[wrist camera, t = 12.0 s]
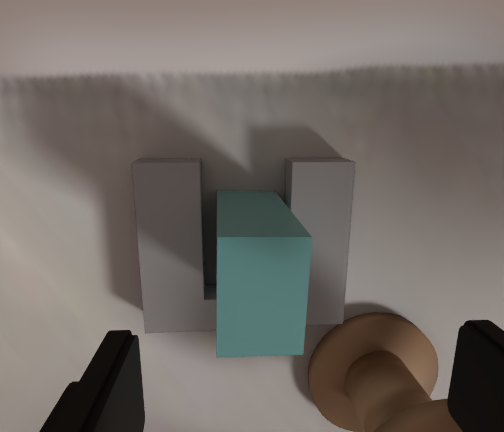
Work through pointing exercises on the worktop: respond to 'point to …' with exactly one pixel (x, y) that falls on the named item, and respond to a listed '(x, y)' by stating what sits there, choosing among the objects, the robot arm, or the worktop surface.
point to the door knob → (378, 377)
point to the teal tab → (260, 276)
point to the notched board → (192, 245)
